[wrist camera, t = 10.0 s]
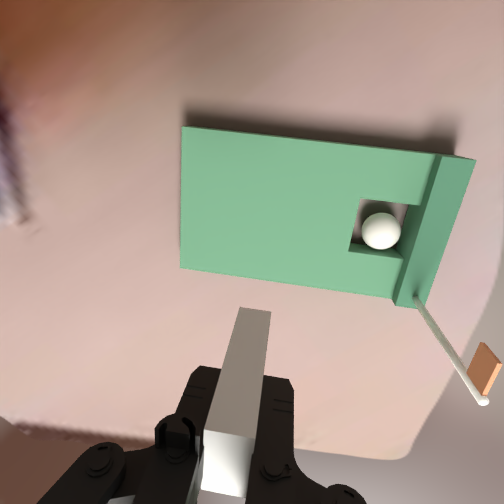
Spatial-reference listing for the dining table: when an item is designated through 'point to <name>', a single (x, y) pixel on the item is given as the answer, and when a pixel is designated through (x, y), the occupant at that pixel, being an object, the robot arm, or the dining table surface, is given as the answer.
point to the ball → (381, 230)
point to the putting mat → (322, 219)
